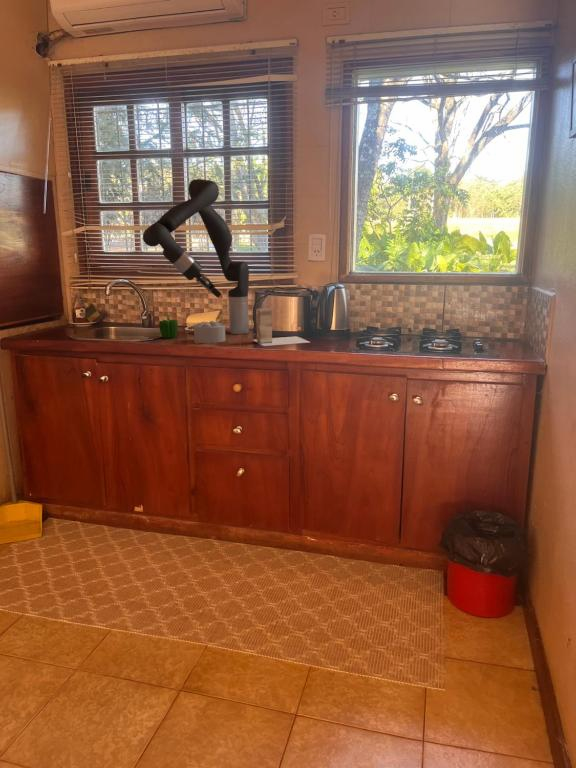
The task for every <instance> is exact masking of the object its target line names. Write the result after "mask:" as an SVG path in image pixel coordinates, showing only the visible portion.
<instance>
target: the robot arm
mask: <svg viewBox="0 0 576 768" xmlns="http://www.w3.org/2000/svg"><path fill="white" fill-rule="evenodd" d="M219 189H220V188H219V186H218V184H217V183H216V182H215V181H213V180H210V179H202V178H196V179H192V180H191V181H190V182H189V184H188V194H189V198H190V199H187V200H185V201H183V202H181V203H178V204H176V205H174V206H173V207H171V208H169V210H167V211H166V212H164V214H163V215H162V216H161V217H160V218H159V219H158V220H156V221H155V222H154V223H152V224H151V225H149V226H148V227H147V228H146V229H145V230H144V231H143V234H142V240H143V242H144V243H145V245H147V246H148V247H156V246H160V247H161V248H162V249H163V250H162V255H163V257H165V258H166V260H167V261H169V262H170V263H171V264H172V265H173V266H174V268H175V269H176V270H177V271H178V272H179V273H180V274H182V275H183V276H184V277H185V278H186V279H187V280H188V281H193V280H194V279H195V282H196V283H198V284H199V285H201V287H203V288H204V289H206V290H207V291H209V292H211V293H212V295H214V296H215V297H216V298H219V297H221V295H222V292H220V290H218V289H217V288H216V286H215V284H213V282H212V281H211V280H210V278H208V276H207V275H206V274H205V273H201V271H202V269H203V266H202V265H201V264H200V263H199V262H198V261H197V260H196V259H195V258H194V257H193V256H192V255H191V254H190V253H188V252H187V251H186V250H184V248H182V246H181V245H180V244H178V242H177V241H176V240H175V238H174V237H173V235H172V234H171V233H173V232H174V231H176V230H177V229H178V228H179V227H181V225H182V224H183V223H185V222H186V221H188V220H189V219H190V218H191V217H193V216H194V215H196V214H197V213H198V214H199V216H200V218H201V220H202V223H203V225H204V227H205V229H206V232H207V235H208V237H209V239H210V241H211V243H212V246H213V248H214V251H215V252H216V255H217V259H218V260H219V264H220V267H221V270H222V274H223V276H224V278H225V279H226V281H228V282H237V285H236V286H235V287H233V288H232V289H229V290H228V292H227V295H228V299H227V300H228V320H229V322H228V323H229V333H230V334H233V335H241V334H242V335H243V334H248V333H250V319H249V289H250V288H249V285H250V284H249V283H250V280H249V279H250V270H249V265H248V262H246V261H240V260H239V261H236V260H235V261H234V260H233V261H232V259H231V257H230V249H231V245H232V244H233V243H232V242H233V236H232V233H231V231H230V227H229V226H228V223H227V222H226V220H224V218H223V217H222V216H221V215H220V214H219V213H218V212H217V210H215V209H214V207H213V206H212V204H214V203H215V202H216V201H217V200H218V198H219V195H220V190H219Z"/></svg>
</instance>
